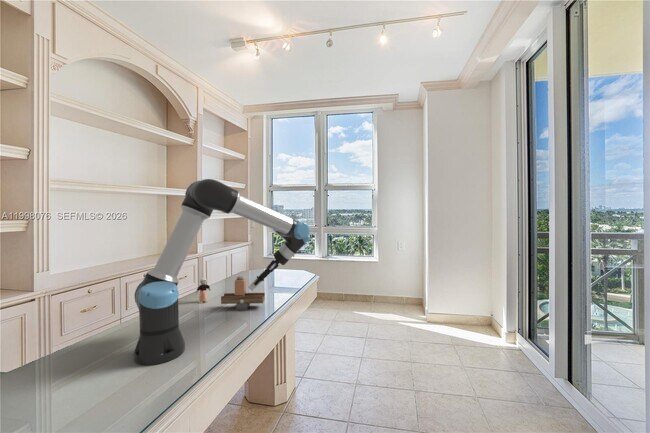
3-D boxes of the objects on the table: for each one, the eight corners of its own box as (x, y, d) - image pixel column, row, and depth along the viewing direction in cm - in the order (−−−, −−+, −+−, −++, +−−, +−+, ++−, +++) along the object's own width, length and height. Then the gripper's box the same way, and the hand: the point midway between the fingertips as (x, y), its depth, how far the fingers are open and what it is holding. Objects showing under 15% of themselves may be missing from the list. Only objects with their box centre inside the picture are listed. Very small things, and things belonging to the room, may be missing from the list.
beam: (262, 309, 146) (262, 296, 146) (220, 310, 146) (220, 296, 146) (265, 305, 153) (264, 292, 153) (225, 305, 153) (225, 292, 153)
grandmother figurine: (199, 304, 155) (198, 279, 154) (195, 303, 157) (194, 278, 157) (212, 300, 161) (212, 277, 160) (208, 299, 163) (208, 276, 163)
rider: (244, 298, 147) (243, 278, 147) (234, 298, 147) (234, 278, 147) (246, 295, 152) (245, 276, 151) (237, 295, 151) (236, 276, 151)
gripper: (288, 262, 143) (253, 297, 143) (290, 257, 156) (258, 290, 156) (276, 251, 143) (241, 287, 143) (280, 247, 156) (247, 280, 156)
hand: (250, 288), depth 149 cm, fingers closed
